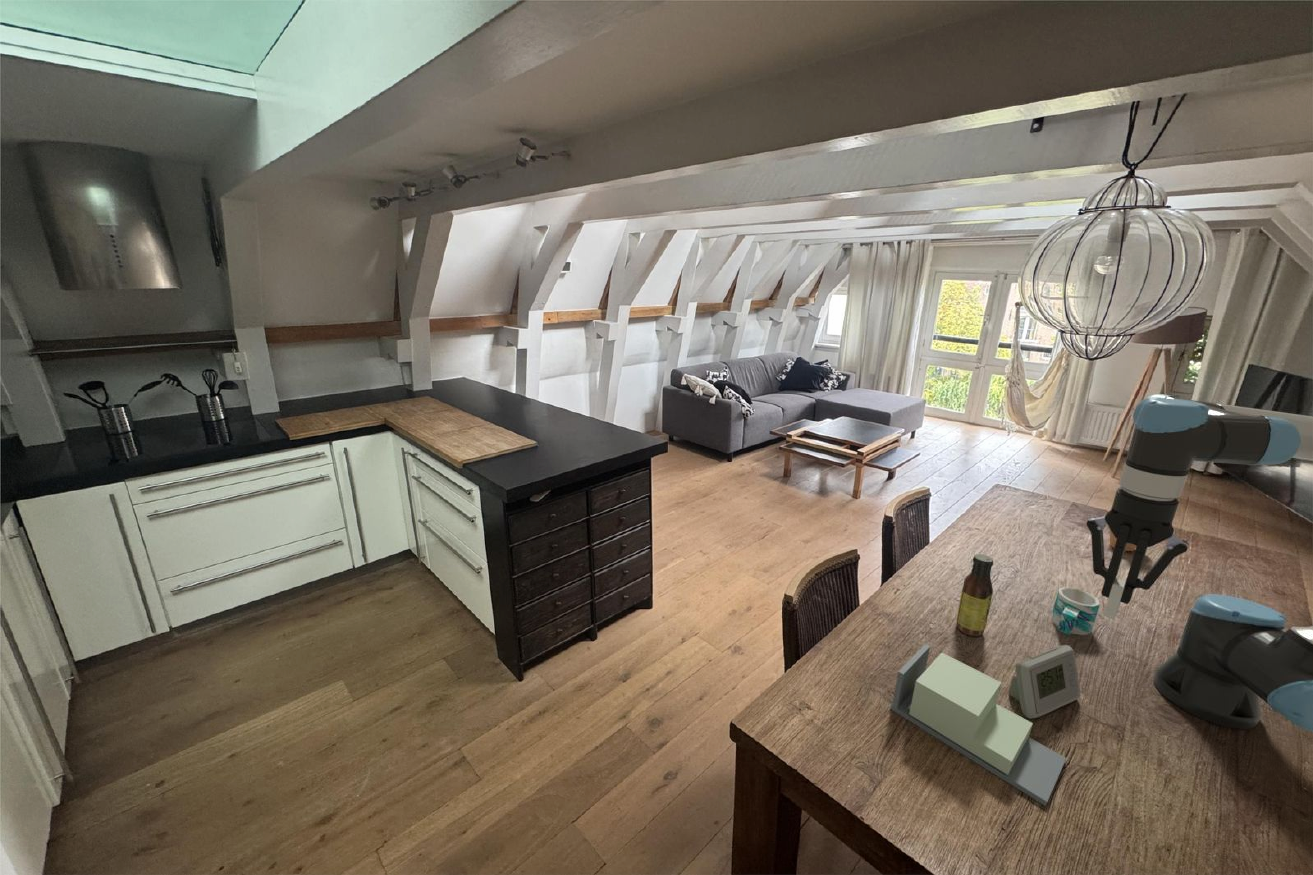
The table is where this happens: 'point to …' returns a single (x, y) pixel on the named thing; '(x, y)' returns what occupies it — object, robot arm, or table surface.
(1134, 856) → the table surface
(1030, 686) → the digital clock
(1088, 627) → the mug
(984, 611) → the sauce bottle
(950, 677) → the sage cover
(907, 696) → the housing base
